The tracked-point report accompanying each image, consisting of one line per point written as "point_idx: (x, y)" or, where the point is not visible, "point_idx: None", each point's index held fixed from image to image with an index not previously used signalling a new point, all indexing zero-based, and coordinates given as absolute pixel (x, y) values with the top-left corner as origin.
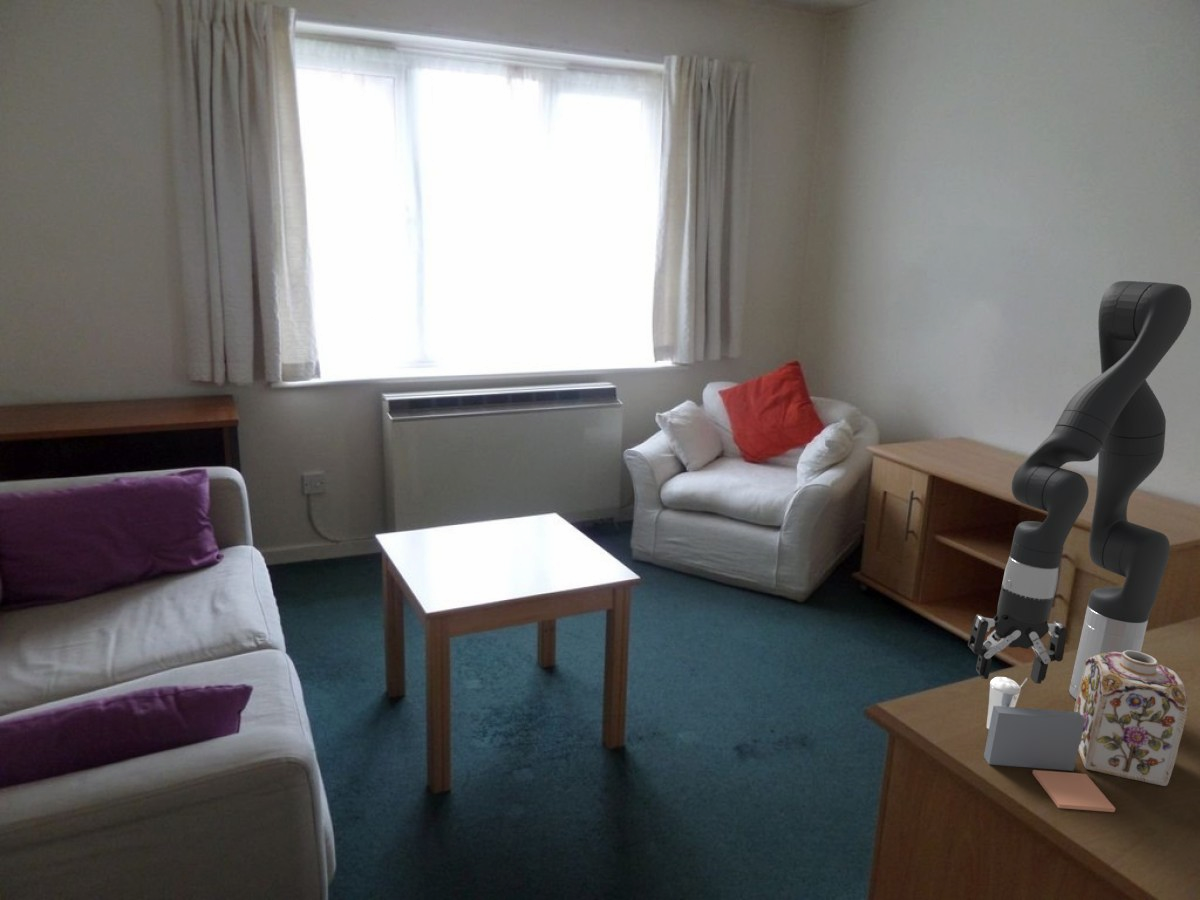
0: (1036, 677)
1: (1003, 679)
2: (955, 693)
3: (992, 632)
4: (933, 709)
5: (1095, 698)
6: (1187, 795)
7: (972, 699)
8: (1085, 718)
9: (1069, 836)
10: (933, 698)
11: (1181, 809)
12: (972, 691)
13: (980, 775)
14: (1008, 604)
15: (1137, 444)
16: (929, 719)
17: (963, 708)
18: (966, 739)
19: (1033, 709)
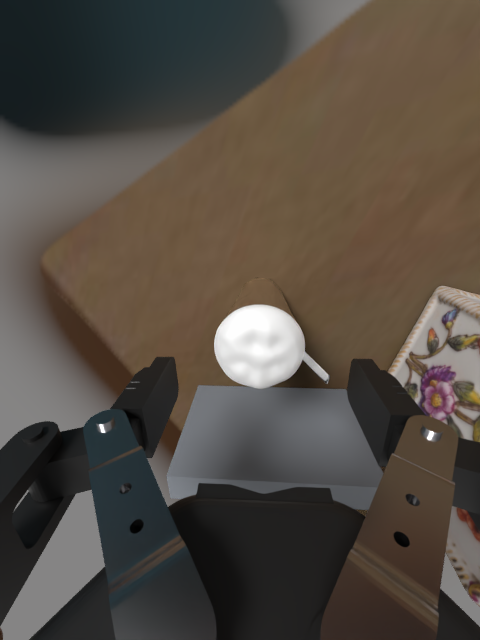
0: (354, 405)
1: (255, 343)
2: (216, 129)
3: (95, 511)
4: (139, 233)
5: (467, 522)
6: None
7: (254, 159)
8: (437, 408)
9: None
10: (148, 175)
11: None
12: (272, 103)
13: (178, 426)
14: None
15: None
16: (123, 278)
17: (213, 216)
18: (183, 339)
19: (265, 485)
